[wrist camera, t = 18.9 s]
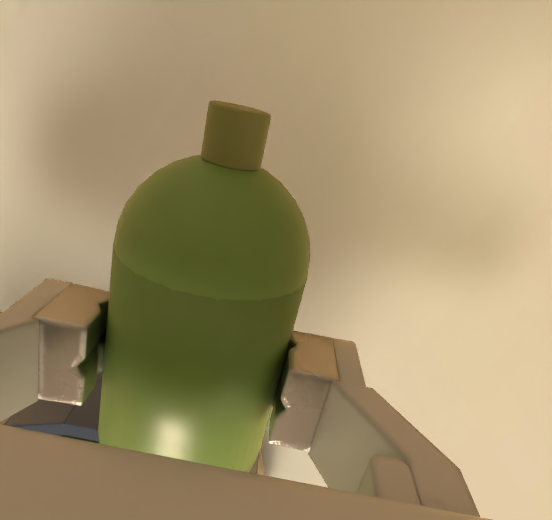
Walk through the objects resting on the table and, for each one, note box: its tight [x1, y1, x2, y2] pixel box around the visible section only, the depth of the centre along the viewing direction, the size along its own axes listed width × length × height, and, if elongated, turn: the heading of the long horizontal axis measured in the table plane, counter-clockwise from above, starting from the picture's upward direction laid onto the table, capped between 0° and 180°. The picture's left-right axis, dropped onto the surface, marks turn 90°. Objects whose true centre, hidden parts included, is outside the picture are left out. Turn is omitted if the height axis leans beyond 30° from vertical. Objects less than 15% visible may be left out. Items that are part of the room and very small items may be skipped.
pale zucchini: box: [98, 101, 310, 472], centre depth 9 cm, size 9×4×4 cm, turn 168°
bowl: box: [0, 372, 265, 476], centre depth 22 cm, size 15×15×6 cm
